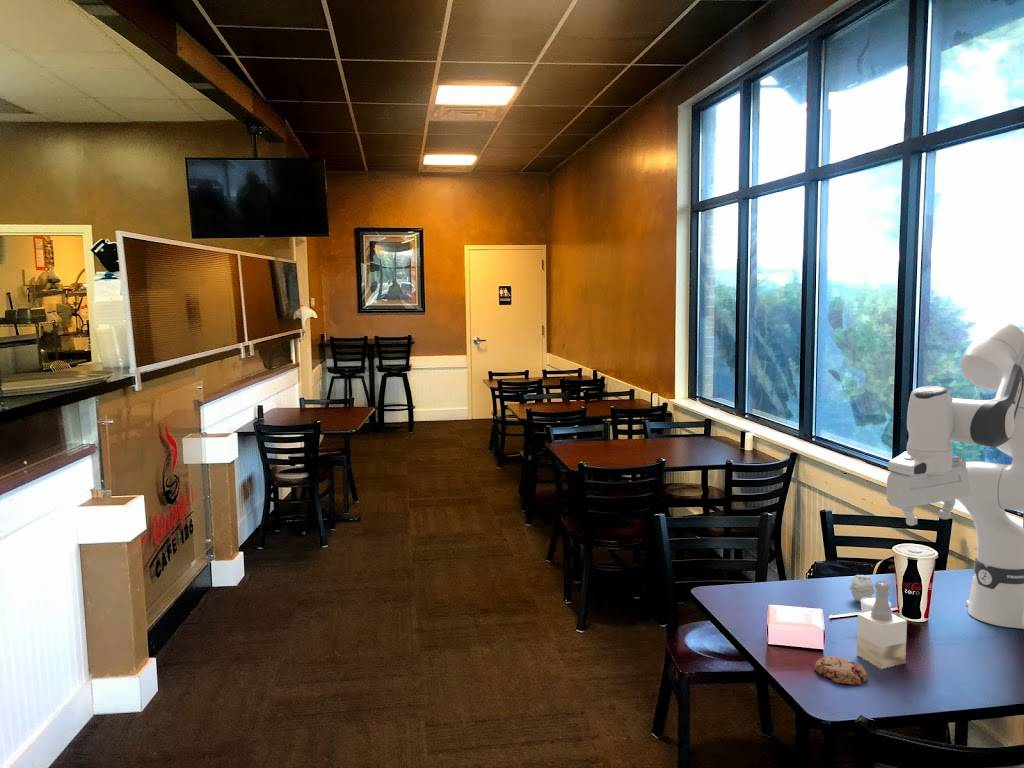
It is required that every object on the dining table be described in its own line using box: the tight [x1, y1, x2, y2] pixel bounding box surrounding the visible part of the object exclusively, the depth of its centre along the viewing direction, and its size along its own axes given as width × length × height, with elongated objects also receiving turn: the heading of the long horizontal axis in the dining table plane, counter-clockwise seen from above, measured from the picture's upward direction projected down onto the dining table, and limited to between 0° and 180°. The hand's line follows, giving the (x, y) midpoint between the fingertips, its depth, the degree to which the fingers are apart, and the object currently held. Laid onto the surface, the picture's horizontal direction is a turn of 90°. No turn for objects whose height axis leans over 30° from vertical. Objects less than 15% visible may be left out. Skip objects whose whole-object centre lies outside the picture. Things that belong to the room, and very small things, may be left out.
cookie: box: [814, 656, 868, 686], centre depth 164 cm, size 10×11×3 cm
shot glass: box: [860, 596, 892, 613], centre depth 186 cm, size 7×7×7 cm
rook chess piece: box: [871, 580, 893, 620], centre depth 169 cm, size 4×4×8 cm
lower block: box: [856, 635, 907, 670], centre depth 171 cm, size 7×7×5 cm
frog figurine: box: [849, 574, 876, 603], centre depth 203 cm, size 6×7×7 cm
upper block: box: [856, 611, 908, 648], centre depth 170 cm, size 7×7×5 cm
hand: (928, 521), depth 168 cm, fingers open, 8 cm apart
